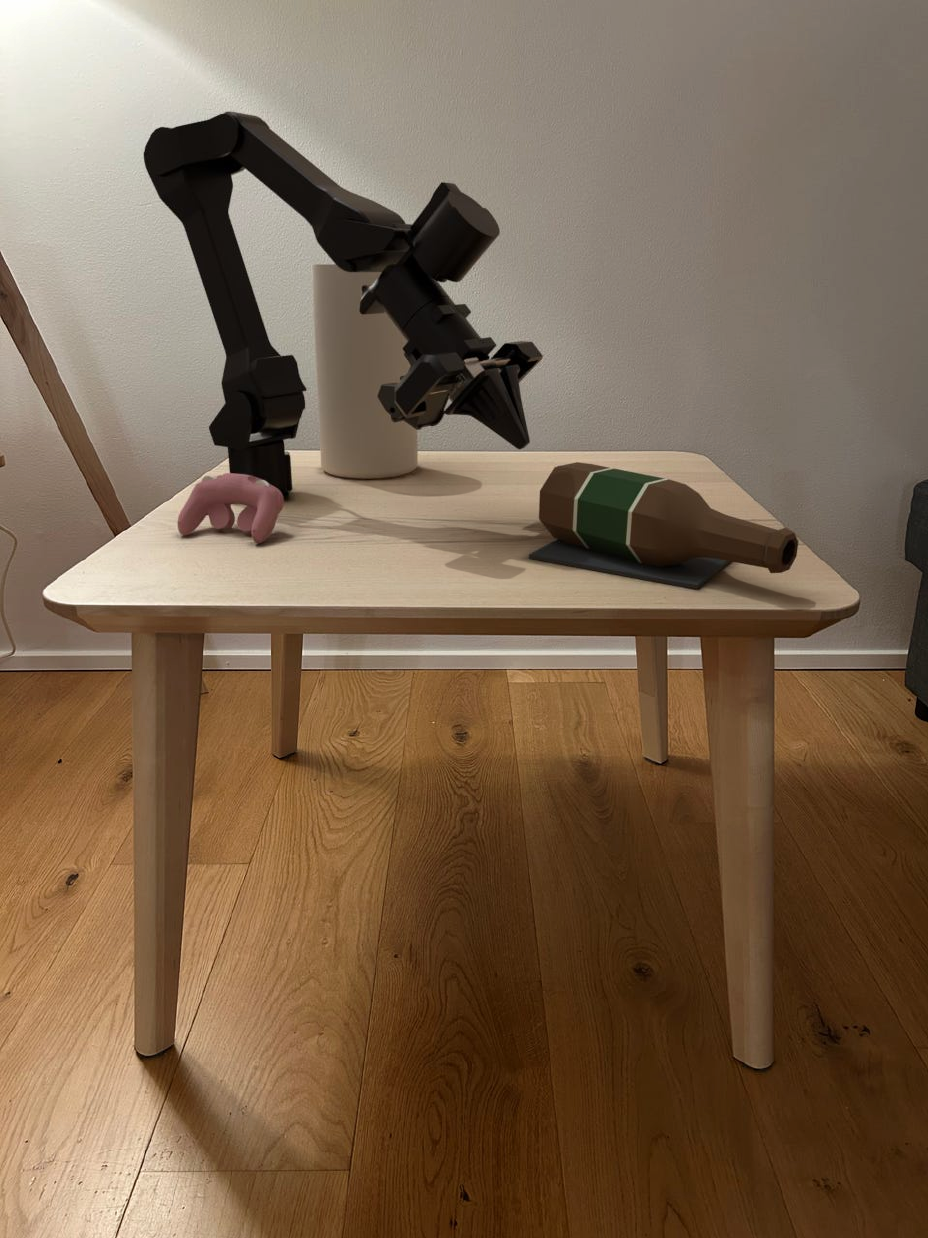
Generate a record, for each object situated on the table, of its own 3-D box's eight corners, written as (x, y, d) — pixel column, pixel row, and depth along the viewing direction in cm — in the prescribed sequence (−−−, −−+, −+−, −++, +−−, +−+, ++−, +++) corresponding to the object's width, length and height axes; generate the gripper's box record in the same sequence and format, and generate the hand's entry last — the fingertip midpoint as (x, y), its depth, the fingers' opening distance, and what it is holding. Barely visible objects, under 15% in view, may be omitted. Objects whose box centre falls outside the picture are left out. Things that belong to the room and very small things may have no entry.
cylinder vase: (301, 471, 121) (289, 264, 112) (364, 456, 130) (358, 264, 122) (375, 484, 114) (369, 265, 105) (436, 467, 124) (435, 265, 115)
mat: (528, 558, 86) (528, 554, 86) (584, 529, 96) (584, 525, 96) (697, 589, 79) (697, 585, 78) (739, 554, 88) (740, 550, 88)
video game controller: (281, 551, 93) (293, 482, 94) (259, 542, 89) (271, 470, 89) (196, 541, 96) (208, 475, 97) (170, 532, 92) (183, 462, 92)
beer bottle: (550, 449, 88) (784, 494, 72) (597, 470, 94) (824, 516, 77) (525, 529, 89) (752, 592, 72) (574, 545, 94) (794, 606, 78)
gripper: (432, 366, 102) (518, 479, 101) (320, 384, 87) (418, 517, 86) (496, 292, 95) (589, 412, 94) (387, 297, 80) (495, 440, 79)
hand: (524, 446), depth 88 cm, fingers closed
